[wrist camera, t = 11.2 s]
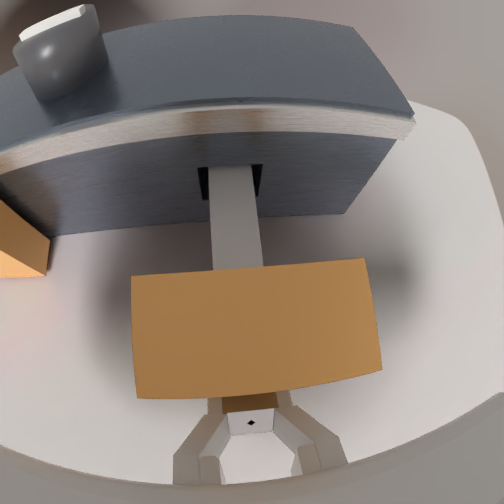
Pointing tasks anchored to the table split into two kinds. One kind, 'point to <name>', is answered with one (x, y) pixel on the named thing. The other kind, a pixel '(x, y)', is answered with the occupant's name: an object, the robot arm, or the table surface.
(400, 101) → the mount
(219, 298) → the knob
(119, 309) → the table surface
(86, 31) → the dial
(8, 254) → the knob
